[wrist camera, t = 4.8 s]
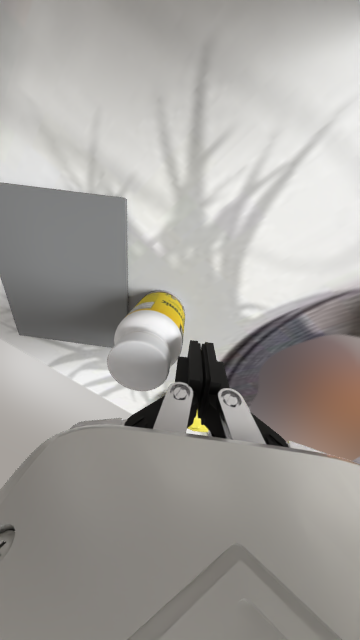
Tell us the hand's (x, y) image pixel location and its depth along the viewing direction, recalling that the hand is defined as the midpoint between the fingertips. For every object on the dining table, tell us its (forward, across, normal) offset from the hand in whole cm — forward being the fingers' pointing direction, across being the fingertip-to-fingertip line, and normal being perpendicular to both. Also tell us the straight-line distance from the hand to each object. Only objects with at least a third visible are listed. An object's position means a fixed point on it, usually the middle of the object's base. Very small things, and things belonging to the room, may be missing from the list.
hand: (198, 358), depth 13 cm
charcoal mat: (+8, +15, -3) cm, 17 cm away
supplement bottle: (+8, +4, 0) cm, 9 cm away
